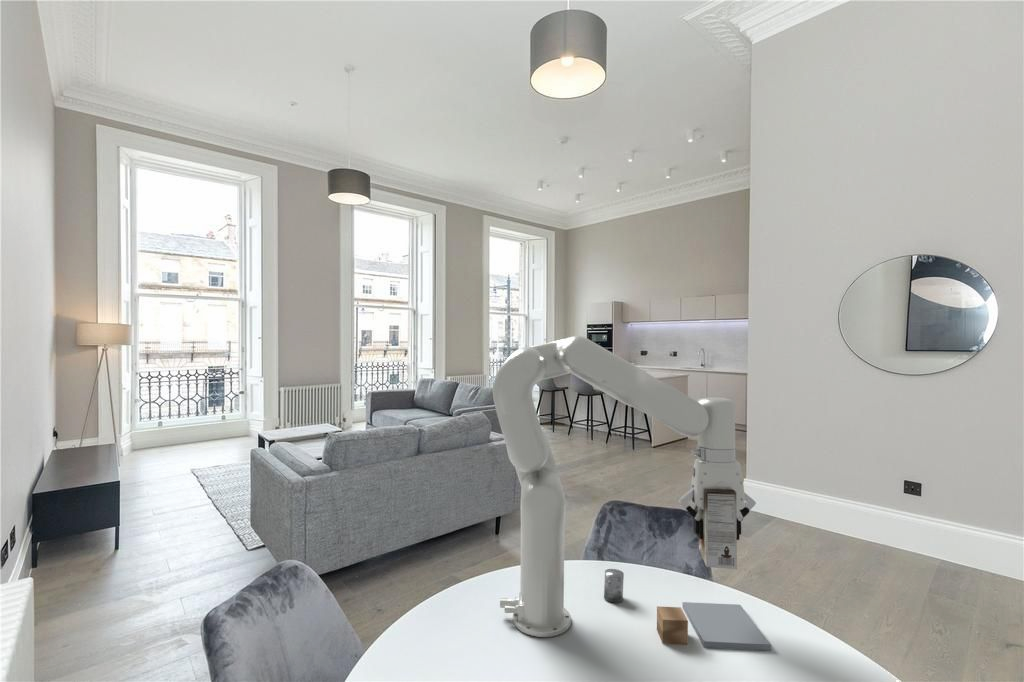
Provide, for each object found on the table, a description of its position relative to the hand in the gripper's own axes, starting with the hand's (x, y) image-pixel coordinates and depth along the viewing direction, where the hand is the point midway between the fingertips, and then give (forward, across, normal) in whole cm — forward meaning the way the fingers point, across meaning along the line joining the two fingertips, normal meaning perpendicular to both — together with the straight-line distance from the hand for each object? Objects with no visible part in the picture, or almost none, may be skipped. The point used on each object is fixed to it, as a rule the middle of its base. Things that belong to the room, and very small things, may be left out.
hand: (717, 536), depth 105 cm
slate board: (+19, +1, 0) cm, 19 cm away
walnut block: (+19, -11, -5) cm, 23 cm away
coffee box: (+5, 0, 0) cm, 5 cm away
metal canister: (+19, -21, +10) cm, 30 cm away
